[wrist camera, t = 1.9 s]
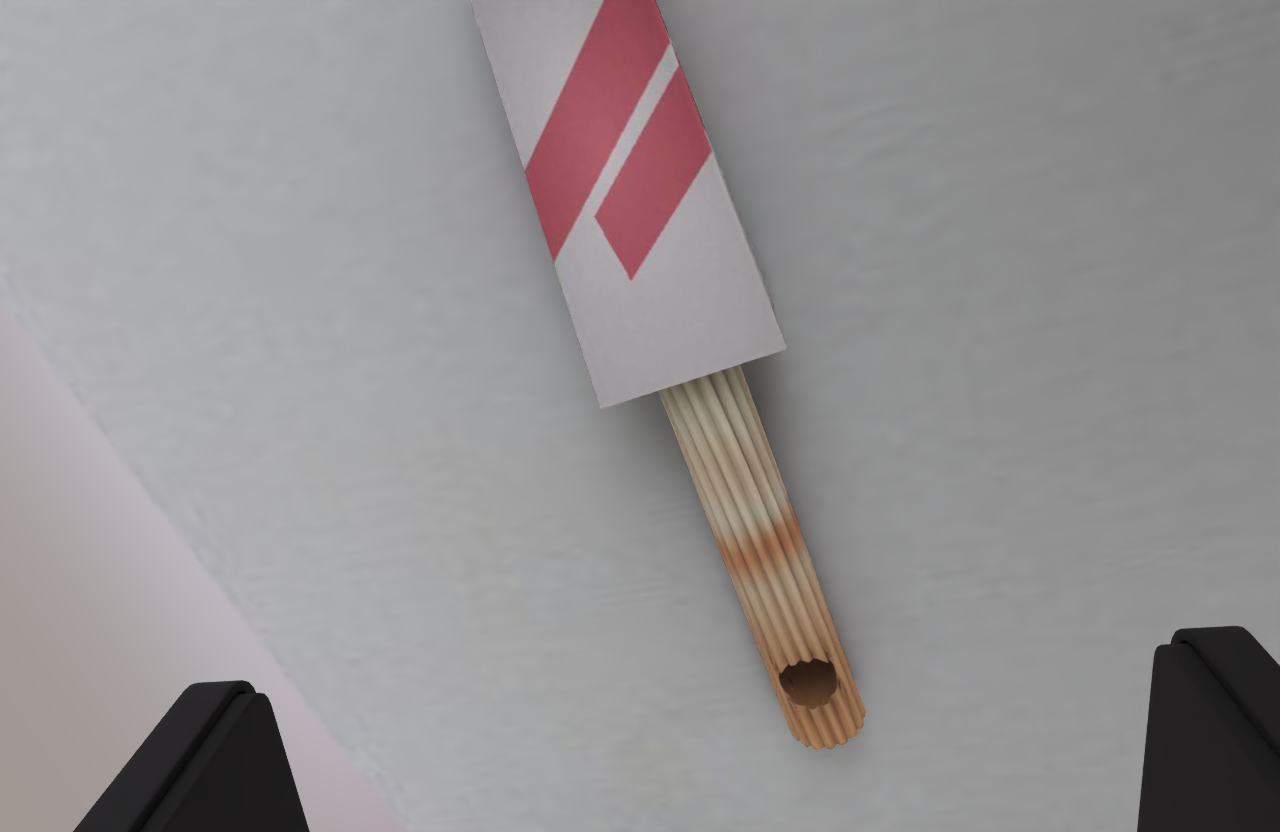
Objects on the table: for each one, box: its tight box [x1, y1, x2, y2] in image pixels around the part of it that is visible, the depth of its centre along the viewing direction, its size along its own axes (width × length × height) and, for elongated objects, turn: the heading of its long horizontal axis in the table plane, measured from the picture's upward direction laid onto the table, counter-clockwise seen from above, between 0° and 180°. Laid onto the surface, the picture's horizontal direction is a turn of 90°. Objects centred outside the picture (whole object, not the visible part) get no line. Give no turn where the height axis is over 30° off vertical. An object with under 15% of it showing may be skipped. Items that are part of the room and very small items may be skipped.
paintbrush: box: [470, 0, 865, 750], centre depth 20 cm, size 4×3×20 cm
